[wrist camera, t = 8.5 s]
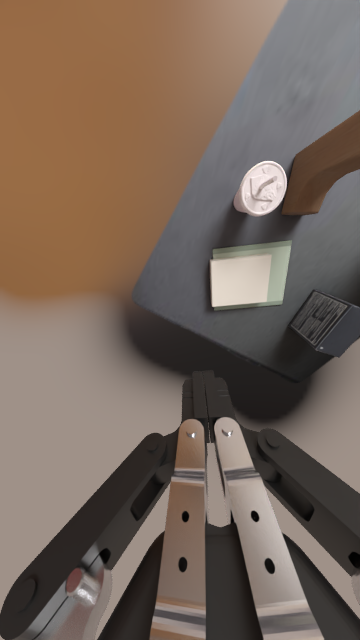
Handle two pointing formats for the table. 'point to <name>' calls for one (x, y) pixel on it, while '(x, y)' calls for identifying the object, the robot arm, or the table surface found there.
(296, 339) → the table surface
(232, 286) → the tile
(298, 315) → the small box
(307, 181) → the wooden block
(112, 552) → the robot arm
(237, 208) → the smoothie
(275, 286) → the mat
